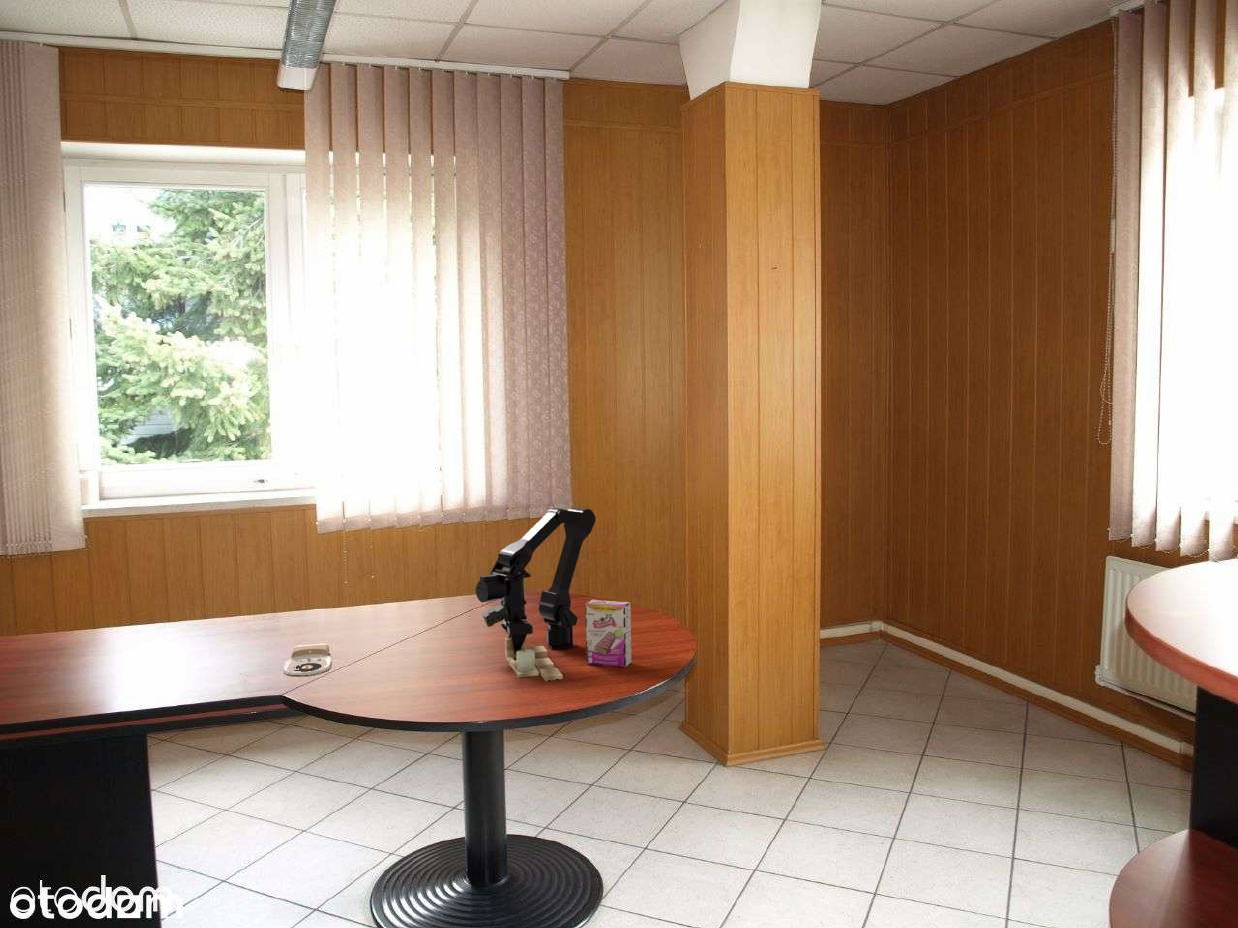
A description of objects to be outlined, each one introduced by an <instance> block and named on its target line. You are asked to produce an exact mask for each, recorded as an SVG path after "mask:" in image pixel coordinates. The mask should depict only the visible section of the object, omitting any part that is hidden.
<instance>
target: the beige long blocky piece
mask: <svg viewBox="0 0 1238 928" xmlns="http://www.w3.org/2000/svg"><path fill="white" fill-rule="evenodd" d="M526 639H527V637H526V638H525V640H524V643H523V645H522V648H521V650H524V649H527V641H526ZM504 648H505V649H504V652H505V653H504V655H505V659H506V661H507V662H508V664H509V666H510V667H511V668H512V670H513V671H514V673H515V674H516V676H517V677H518V678H527V677H528V678H529V677H537V676H540V670H539V669H538V670H537V669H536V667H535V670H533V671H529V672H521V671H518V670H517V655H515V654H514V649H513V644H512V640H511V637H509V636H508V637H507V636H506V637H504Z"/></svg>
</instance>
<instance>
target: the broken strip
mask: <svg viewBox="0 0 1238 928" xmlns="http://www.w3.org/2000/svg"><path fill="white" fill-rule="evenodd" d="M526 649H530V650H534V651H535V667H536V669H537V670H538V671H539V675H540V676H541V677H542V678H543V680H544V681H545V682H548V680H550V681H557V680H556V679H559V680H563V679H564V678H563V677H564V676H563V674H562V673H561V671H560V670H559V669H558V668H557V667H554V666H555V665H554V663H553V660H551V659H550V658H549V657H548V653H549V652H548V650H547V648H545V646H544V645H537V646H528V647H527V646H526Z"/></svg>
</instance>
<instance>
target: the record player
mask: <svg viewBox="0 0 1238 928" xmlns="http://www.w3.org/2000/svg"><path fill="white" fill-rule="evenodd" d="M291 653H292V654H291V657H290V658H289V659H288V660H286V661H285V662H284V665H283V673H284V672H286V673H288V674H292V675H309V676H312V675H311V674H315V675H318V674H317V673H319V674H322V673H321V672H323V673H324V671H325V672H327V671H329V670H330V669H329V668H331V666H330V665H332V657H331V656H329V653H330V645H329V644H328V643H317V644H315V643H313V644H302V645H295V646H294V648H293V650H292V652H291ZM311 658H318V659H311ZM301 659H306V660H308V661H306V662H311V661H312V660H317V661H321V660H323V659H325V660H326V661H327V665H326V667H325V666H324V667H325V668H323V669H320V670H318V669H319V668H321V667H322V665H321V664H319V663H305V664H300V665H301V666H299V665H297V666H296V669H298V668H299V670H294V671H301V672H302V673H296V672H289V671H287V668H288V666H289V664H290V663H291V662H294V661H297V662H299V661H298V660H300V662H302V660H301ZM323 663H324V661H323ZM293 668H295V667H293ZM328 669H329V670H328ZM314 670H315V671H314ZM316 670H317V671H316ZM326 670H327V671H326ZM308 671H311V672H308Z"/></svg>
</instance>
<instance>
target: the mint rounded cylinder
mask: <svg viewBox="0 0 1238 928" xmlns="http://www.w3.org/2000/svg"><path fill="white" fill-rule="evenodd" d="M516 660H517V670H518V671H521V672H529V671H533V670H535V651H534V650H530V649H527V648H526V649H524V650H519V651H517V659H516Z"/></svg>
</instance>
